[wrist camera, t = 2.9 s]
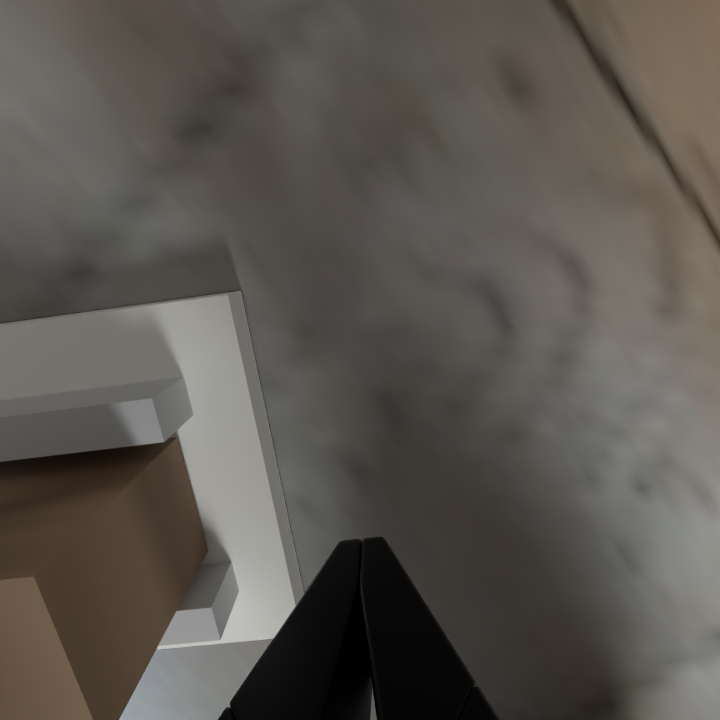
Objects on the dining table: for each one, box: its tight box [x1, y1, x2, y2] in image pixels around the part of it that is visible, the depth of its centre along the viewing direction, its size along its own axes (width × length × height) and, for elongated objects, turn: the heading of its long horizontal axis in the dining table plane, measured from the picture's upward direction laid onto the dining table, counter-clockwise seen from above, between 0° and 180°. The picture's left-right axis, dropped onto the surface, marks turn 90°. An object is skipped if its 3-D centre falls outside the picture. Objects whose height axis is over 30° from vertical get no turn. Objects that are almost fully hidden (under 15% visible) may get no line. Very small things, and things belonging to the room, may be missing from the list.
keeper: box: [0, 437, 208, 720], centre depth 8 cm, size 5×3×4 cm
